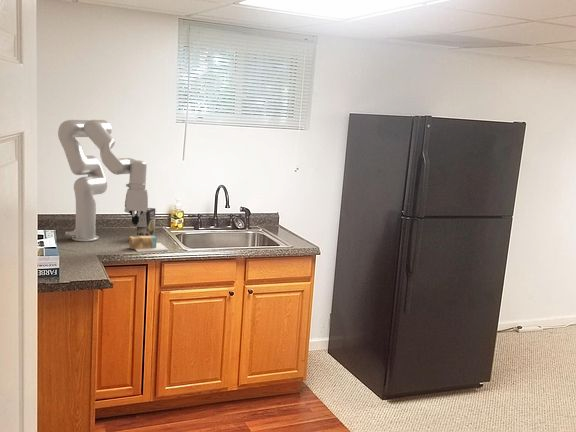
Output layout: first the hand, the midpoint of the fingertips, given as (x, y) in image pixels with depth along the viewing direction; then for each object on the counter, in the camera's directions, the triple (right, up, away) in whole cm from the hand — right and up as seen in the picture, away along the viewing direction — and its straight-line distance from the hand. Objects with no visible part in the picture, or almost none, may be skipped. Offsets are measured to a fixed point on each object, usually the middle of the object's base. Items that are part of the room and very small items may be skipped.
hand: (135, 224), depth 283 cm
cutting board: (+6, -12, +5) cm, 14 cm away
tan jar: (-2, -9, 0) cm, 9 cm away
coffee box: (0, -8, +23) cm, 24 cm away
